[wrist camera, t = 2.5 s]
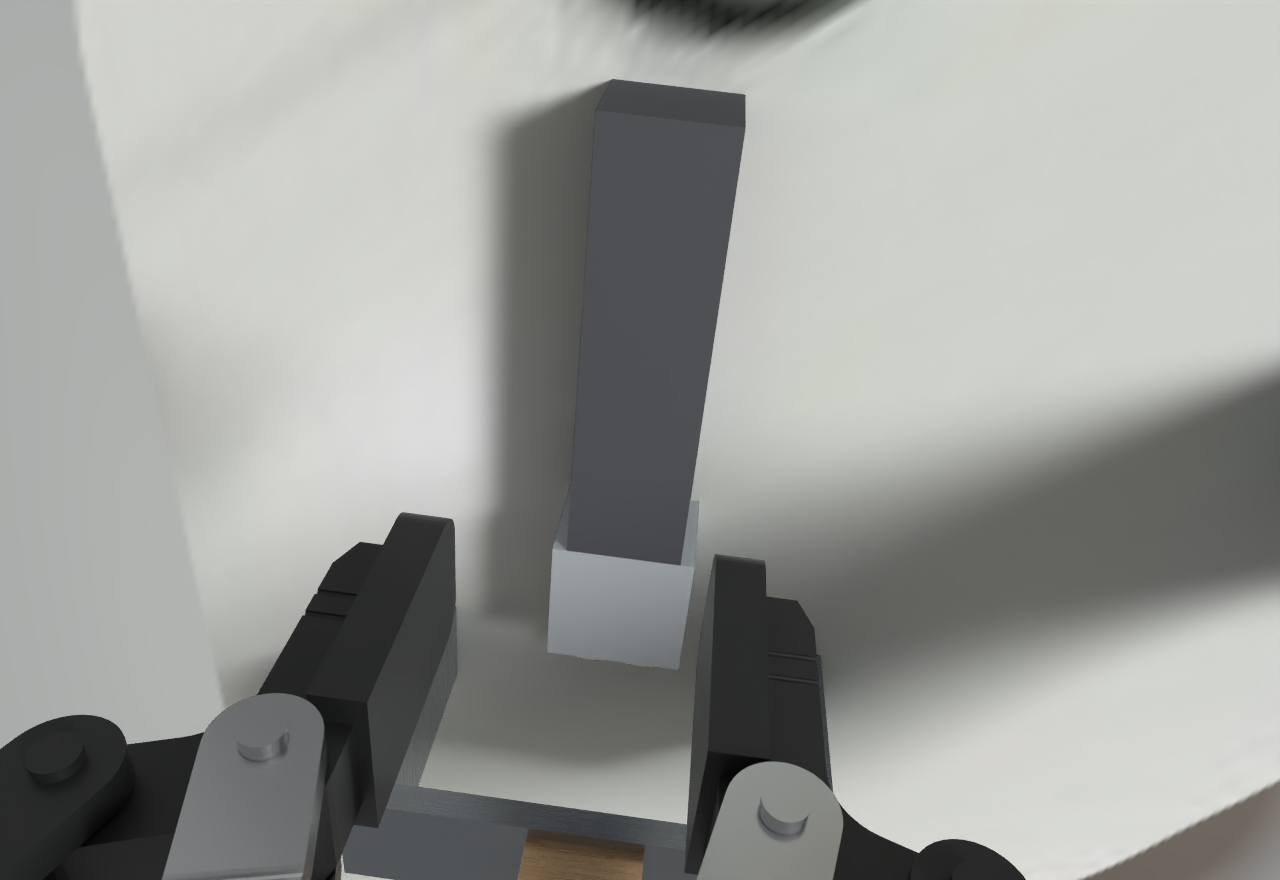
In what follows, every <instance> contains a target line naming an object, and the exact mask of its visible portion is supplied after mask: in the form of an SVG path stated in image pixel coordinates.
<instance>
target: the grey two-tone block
mask: <svg viewBox="0 0 1280 880" xmlns="http://www.w3.org/2000/svg"><path fill="white" fill-rule="evenodd" d="M744 134H745V95H744V94H735V93H727V92H718V91H710V90H701V89H693V88H684V87H676V86H667V85H658V84H650V83H641V82H633V81H624V80H616V79H613V80H612V81H611V83H610V85H609V87H608V88H607V90H606V92H605V94H604V96H603V97H602V99H601V101H600V103H599V105H598V106H597V108H596V110H595V124H594V139H593V155H592V170H591V185H590V201H589V216H588V231H587V247H586V262H585V277H584V293H583V308H582V323H581V339H580V354H579V369H578V385H577V400H576V415H575V431H574V446H573V461H572V477H571V485H570V486H569V490H568V494H567V497H566V501H565V505H564V508H563V512H562V516H561V519H560V523H559V527H558V530H557V534H556V538H555V542H554V545H553V549H552V567H551V585H550V603H549V622H548V640H547V652H548V653H555V654H563V655H570V656H578V657H579V658H582V659H589V660H596V661H599V659H600V660H607V661H615V662H622V663H629V665H634V666H641V667H648V668H649V666H652V667H659V668H667V669H674V670H679V664H680V658H681V651H682V645H683V639H684V632H685V626H686V620H687V614H688V607H689V601H690V595H691V588H692V582H693V576H694V570H695V557H696V543H697V528H698V514H699V501H692V500H690V498H691V492H692V485H693V478H694V471H695V465H696V458H697V451H698V444H699V438H700V431H701V424H702V417H703V411H704V404H705V397H706V390H707V384H708V377H709V370H710V364H711V357H712V350H713V343H714V337H715V330H716V323H717V316H718V310H719V303H720V296H721V289H722V283H723V276H724V269H725V262H726V256H727V249H728V242H729V235H730V229H731V222H732V215H733V208H734V202H735V195H736V188H737V181H738V175H739V168H740V161H741V154H742V148H743V141H744Z"/></svg>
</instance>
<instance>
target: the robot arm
mask: <svg viewBox="0 0 1280 880" xmlns="http://www.w3.org/2000/svg"><path fill="white" fill-rule="evenodd" d="M455 602H456V583H455V528H454V522H453V520H452V519H449V518H442V517H434V516H427V515H419V514H411V513H404V512H403V513H401V514H400V515H399V516H398V517H397V519H396V521H395V523H394V525H393V527H392V529H391V531H390V533H389V535H388V536H387V538H386V540H385V542H384V544H383V545H379V544H371V543H364V542H359V543H358V544H357V545H355V546H354V547H353V548H352V549H350V550H349V551H348V552H346V553H345V554H344V555H342V556H341V557H340V558H339V559H337V560H336V561H335V562H333V563H332V565H331V567H330V569H329V570H328V572H327V574H326V576H325V577H324V579H323V581H322V583H321V584H320V586H319V588H318V592H317V594H315V595H314V597H313V598H312V600H311V602H310V604H309V605H308V607H307V609H306V613H305V616H302V617H301V619H300V621H299V623H298V624H297V626H296V628H295V630H294V631H293V633H292V635H291V637H290V638H289V640H288V642H287V644H286V645H285V647H284V649H283V651H282V652H281V654H280V656H279V658H278V659H277V661H276V663H275V665H274V666H273V668H272V670H271V672H270V673H269V675H268V677H267V678H266V680H265V682H264V684H263V685H262V687H261V689H260V691H259V692H258V694H257V695H256V696H253V697H250V698H247V699H244V700H241V701H239V702H237V703H235V704H233V705H231V706H230V707H228V708H227V709H225V710H224V711H223V712H221V713H220V714H219V715H218V716H217V717H216V718H215V719H214V720H213V721H212V722H211V724H209V726H208V727H207V729H206V730H205V732H203V733H200V734H196V735H192V736H187V737H182V738H174V739H166V740H158V741H151V742H143V743H135V744H128V745H127V743H126V740H125V737H124V735H123V733H122V731H121V730H120V729H119V727H117V725H115V724H114V723H112V722H111V721H109V720H107V719H104V718H102V717H97V716H92V715H73V716H66V717H61V718H57V719H53V720H50V721H47V722H44V723H42V724H39V725H37V726H35V727H33V728H31V729H29V730H27V731H25V732H24V733H22V734H21V735H19V736H18V737H17V738H15V739H14V740H12V741H11V742H9V743H8V744H7V745H5V746H4V747H3V748H1V749H0V880H341V855H342V853H343V850H344V848H345V845H346V843H347V840H348V838H349V835H350V833H351V830H352V828H353V825H358V826H365V827H372V828H378V827H379V825H380V822H381V819H382V817H383V814H384V811H385V809H386V806H387V803H388V800H389V798H390V795H391V792H392V790H393V787H394V784H395V782H396V779H397V776H398V774H399V771H400V768H401V766H402V763H403V760H404V758H405V755H406V752H407V750H408V747H409V744H410V742H411V739H412V736H413V733H414V731H415V728H416V725H417V723H418V720H419V717H420V715H421V712H422V709H423V707H424V704H425V701H426V699H427V696H428V693H429V691H430V688H431V685H432V683H433V680H434V677H435V675H436V672H437V669H438V667H439V664H440V661H441V658H442V656H443V653H444V650H445V648H446V645H447V642H448V639H449V636H450V633H451V629H452V624H453V619H454V612H455ZM816 657H817V656H816V645H815V633H814V627H813V626H812V624H811V622H810V621H809V619H808V617H807V616H806V614H805V613H804V611H803V609H802V608H801V606H800V604H799V603H798V601H795V600H787V599H780V598H772V597H766V567H765V561H763V560H755V559H748V558H740V557H733V556H725V555H717V554H715V556H714V560H713V565H712V571H711V576H710V582H709V588H708V594H707V600H706V606H705V611H704V617H703V623H702V629H701V635H700V642H699V650H698V659H697V670H696V685H695V701H694V718H693V735H692V751H691V768H690V785H689V801H688V818H687V835H686V851H685V868H684V873H688V874H695V875H698V877H697V879H696V880H1026V879H1025V878H1024V876H1023V875H1022V874H1021V873H1020V872H1019V871H1018V870H1017V869H1016V867H1015V866H1014V865H1012V864H1011V863H1010V862H1009V861H1008V860H1007V859H1005V858H1004V857H1002V856H1001V855H999V854H998V853H997V852H995V851H993V850H991V849H989V848H987V847H985V846H983V845H980V844H977V843H975V842H971V841H966V840H959V839H948V840H941V841H938V842H934V843H932V844H930V845H928V846H926V847H925V848H924V849H923V850H922V851H921V852H920V853H917V852H915V851H912V850H910V849H908V848H906V847H903V846H901V845H899V844H897V843H894V842H892V841H890V840H887V839H885V838H883V837H881V836H879V835H877V834H875V833H873V832H871V831H869V830H868V829H866V828H865V827H863V826H862V825H860V824H859V823H858V822H857V821H855V820H854V819H853V818H852V817H851V816H850V815H849V814H848V813H847V812H846V811H845V810H844V809H843V808H842V806H841V805H840V803H839V802H838V801H837V799H836V797H835V795H834V794H833V792H832V790H831V787H830V785H829V782H828V777H827V772H826V760H825V749H824V737H823V726H822V714H821V702H820V691H819V686H818V681H819V679H818V668H817V663H816Z"/></svg>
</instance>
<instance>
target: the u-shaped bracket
mask: <svg viewBox="0 0 1280 880" xmlns="http://www.w3.org/2000/svg"><path fill="white" fill-rule="evenodd" d="M816 656H817V657H816V663H817V668H818V679H819V681H818V686H819V691H820V702H821V714H822V726H823V737H824V749H825V760H826V772H827V777H828V782H829V785H830V787H831V790H832V792H833V787H832V776H831V765H830V754H829V743H828V732H827V721H826V710H825V699H824V688H823V677H822V667H821V656H818V655H816ZM456 675H457V636H456V607H455V612H454V619H453V624H452V629H451V633H450V636H449V639H448V642H447V645H446V648H445V650H444V653H443V656H442V658H441V661H440V664H439V667H438V669H437V672H436V675H435V677H434V680H433V683H432V685H431V688H430V691H429V693H428V696H427V699H426V701H425V704H424V707H423V709H422V712H421V715H420V717H419V720H418V723H417V725H416V728H415V731H414V733H413V736H412V739H411V742H410V744H409V747H408V750H407V752H406V755H405V758H404V760H403V763H402V766H401V768H400V771H399V774H398V776H397V779H396V782H395V784H394V787H393V790H392V792H391V795H390V798H389V800H388V803H387V806H386V809H385V811H384V814H383V817H382V819H381V822H380V825H379V827H378V828H372V827H365V826H358V825H353V828H352V830H351V833H350V835H349V838H348V840H347V843H346V845H345V848H344V850H343V853H342V854H343V862H344V870H345V873H352V874H359V875H366V876H373V877H380V878H387V879H394V880H696V879H697V877H698V875H695V874H688V873H684V868H685V851H686V835H687V825H686V824H679V823H672V822H665V821H658V820H651V819H644V818H637V817H629V816H622V815H615V814H608V813H601V812H594V811H587V810H580V809H573V808H565V807H558V806H551V805H544V804H537V803H530V802H523V801H516V800H509V799H501V798H494V797H487V796H480V795H473V794H466V793H459V792H452V791H444V790H437V789H430V788H423V787H418V785H419V782H420V779H421V776H422V773H423V770H424V767H425V765H426V762H427V759H428V756H429V753H430V750H431V747H432V744H433V741H434V739H435V736H436V733H437V730H438V727H439V724H440V721H441V718H442V716H443V713H444V710H445V707H446V704H447V701H448V698H449V695H450V693H451V690H452V687H453V684H454V681H455V678H456Z"/></svg>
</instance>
